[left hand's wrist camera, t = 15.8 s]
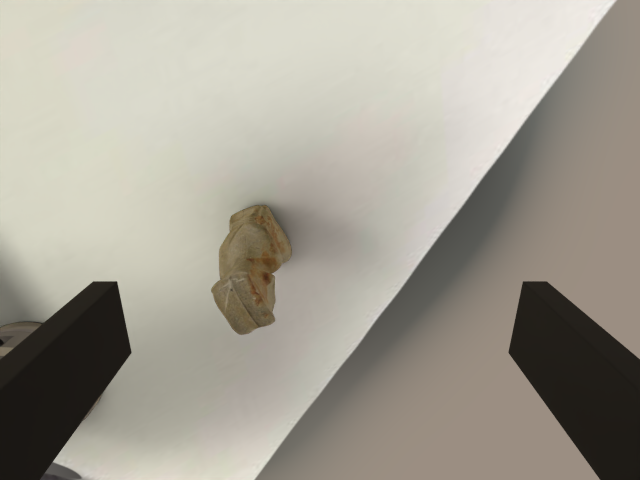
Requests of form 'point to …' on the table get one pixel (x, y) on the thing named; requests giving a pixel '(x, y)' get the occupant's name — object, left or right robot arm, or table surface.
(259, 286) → the sculpture
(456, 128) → the table surface
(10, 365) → the left robot arm
